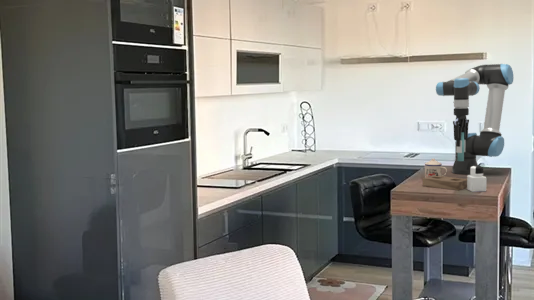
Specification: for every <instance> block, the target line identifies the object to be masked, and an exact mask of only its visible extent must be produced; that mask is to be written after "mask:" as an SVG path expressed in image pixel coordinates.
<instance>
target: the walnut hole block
mask: <svg viewBox="0 0 534 300" xmlns="http://www.w3.org/2000/svg"><path fill="white" fill-rule="evenodd" d="M422 187H427V188H428V187H429V188H436V189H445V190H452V191H460V190H464V189H467V178H461V177H450V176H431V177H427V178H425V177H423V178H422Z"/></svg>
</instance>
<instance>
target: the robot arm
mask: <svg viewBox="0 0 534 300" xmlns="http://www.w3.org/2000/svg"><path fill="white" fill-rule="evenodd" d="M513 83H514V71H513V68H512V66H511V65H510V64H508V63H506V64H505V63H500V64H499V63H497V64H496V63H494V64H492V63H491V64H482V65H477V66H474V67H472V68H469V69H467V70H466V71H465V72H464V73H463V74H460V75H458V76H456V77H454V78H452V79H450V80H447V81H439V82H437V83H436V85H435V93H436V95H438V96H443V97H449V96H451V97H452V96H453V107H454V108H453V115H454V116H455V120H453V121H452V124H453V140H454V142H455V146H454V147H455V150H454V152H455V154H454V155H455V157H454V158H455V160H454V163H453V165H452V168H451V173H452V174H459V175H471V174H470V168H471V167H472V166H479V164H478V161H477V157H478V156H479V157H489V158H492V157H494V158H495V157H499V156H500V155H501V154H502V153H503V150H504V148H505V138H504V137H503V136H502V135H503V134H502V132H501V131H500V130H501V129H500V128H501V122H502V121H501V120H502V113H503V107H504V101H505V100H504V99H505V94H506V90H509V86H510V85H512V84H513ZM480 85H486V88H488V89H489V90H488V95H487V102H486V108H485V110H486V111H485V115H484V116H485V117H484V122H483V123H484V124H483V129H482V130H481V131H479V135H478V134H477V132H469V123H470V119H468V118H467V116H469V115H470V113H469V111H470V110H469V109H470V108H469V107H470V97H472V96H475V95H478V94H479V92H480ZM462 132H464V161H458V153H462V140H461V133H462Z"/></svg>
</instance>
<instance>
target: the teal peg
mask: <svg viewBox="0 0 534 300" xmlns="http://www.w3.org/2000/svg"><path fill="white" fill-rule="evenodd" d="M461 140H462V153H458V161H464V132H462V133H461Z"/></svg>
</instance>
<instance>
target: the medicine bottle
mask: <svg viewBox="0 0 534 300" xmlns="http://www.w3.org/2000/svg"><path fill="white" fill-rule="evenodd" d="M466 179H467V188H466V190H467V191H469V192H472V193H475V192H477V193H478V192H479V193H481V192H487V177H486V176H484V167H483V166H480V165H478V166H472V167H471V168H470V174H467V176H466Z"/></svg>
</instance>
